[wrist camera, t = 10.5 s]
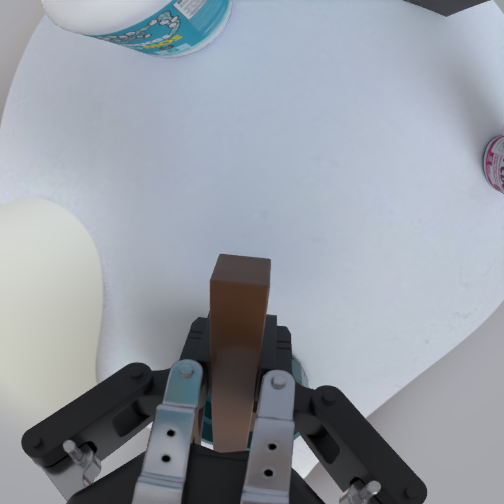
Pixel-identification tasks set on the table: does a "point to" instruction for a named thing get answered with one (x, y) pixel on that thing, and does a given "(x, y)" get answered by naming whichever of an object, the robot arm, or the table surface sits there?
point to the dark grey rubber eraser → (446, 5)
